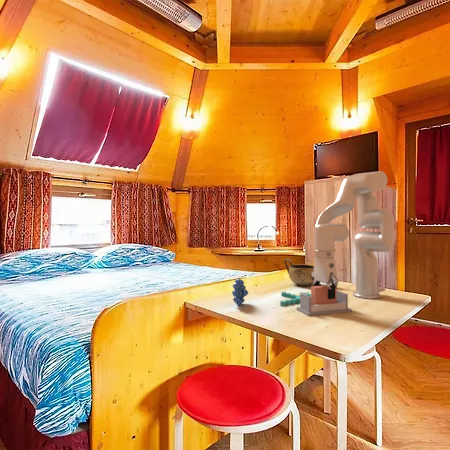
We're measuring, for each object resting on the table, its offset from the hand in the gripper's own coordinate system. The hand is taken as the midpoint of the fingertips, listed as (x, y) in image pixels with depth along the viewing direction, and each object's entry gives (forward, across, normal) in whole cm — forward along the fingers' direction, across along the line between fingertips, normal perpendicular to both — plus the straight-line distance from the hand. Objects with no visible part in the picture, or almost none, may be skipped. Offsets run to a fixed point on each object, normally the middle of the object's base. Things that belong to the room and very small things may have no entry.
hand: (324, 296), depth 129 cm
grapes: (+6, +17, +30) cm, 35 cm away
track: (+6, 0, 0) cm, 6 cm away
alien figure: (+7, +16, 0) cm, 17 cm away
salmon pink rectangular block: (+5, 0, 0) cm, 5 cm away
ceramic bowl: (+7, +48, -19) cm, 52 cm away
